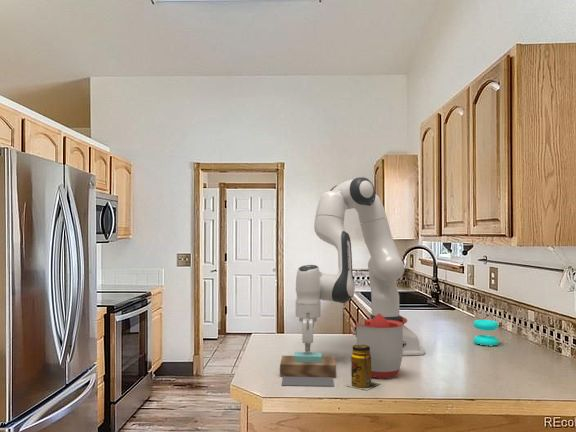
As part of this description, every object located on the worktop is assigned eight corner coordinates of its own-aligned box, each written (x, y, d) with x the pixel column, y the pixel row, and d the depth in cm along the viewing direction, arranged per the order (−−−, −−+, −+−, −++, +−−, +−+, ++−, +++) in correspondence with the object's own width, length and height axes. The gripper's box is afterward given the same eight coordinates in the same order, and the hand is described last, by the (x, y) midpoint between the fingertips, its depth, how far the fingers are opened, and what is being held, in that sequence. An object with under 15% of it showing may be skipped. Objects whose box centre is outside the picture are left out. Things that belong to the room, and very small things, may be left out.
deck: (334, 368, 169) (334, 356, 170) (335, 377, 157) (335, 365, 158) (282, 367, 170) (282, 355, 170) (280, 376, 158) (280, 364, 158)
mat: (332, 378, 157) (332, 377, 157) (334, 386, 148) (334, 385, 148) (283, 377, 158) (283, 376, 158) (281, 385, 149) (281, 384, 149)
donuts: (468, 319, 213) (486, 318, 216) (468, 343, 212) (486, 341, 216) (484, 323, 203) (503, 322, 207) (485, 347, 203) (504, 346, 206)
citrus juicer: (366, 364, 174) (366, 308, 175) (411, 373, 163) (411, 313, 164) (342, 373, 162) (342, 313, 163) (389, 384, 151) (389, 318, 152)
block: (321, 358, 167) (321, 352, 167) (321, 362, 161) (321, 356, 161) (294, 357, 167) (294, 351, 167) (294, 362, 161) (294, 356, 161)
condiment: (345, 386, 149) (345, 346, 150) (360, 380, 156) (360, 341, 156) (366, 390, 145) (366, 349, 145) (380, 384, 151) (380, 345, 152)
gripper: (317, 316, 163) (317, 358, 162) (316, 307, 183) (316, 345, 182) (298, 315, 163) (298, 357, 162) (299, 307, 183) (299, 344, 183)
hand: (307, 351), depth 173 cm, fingers closed
